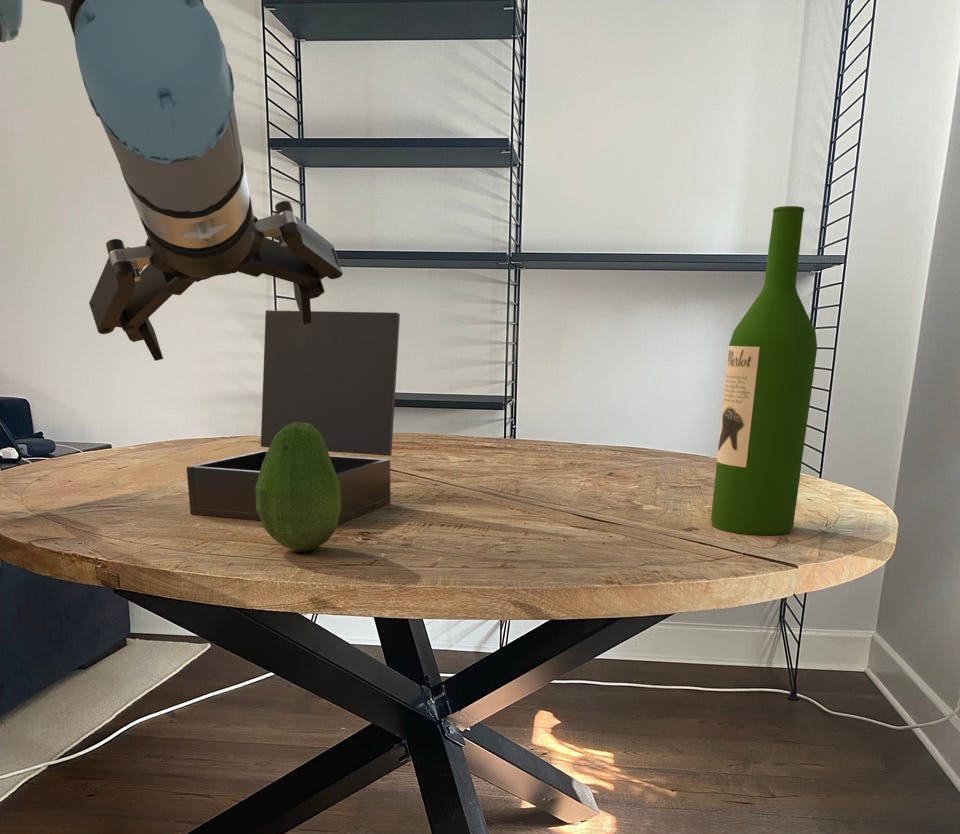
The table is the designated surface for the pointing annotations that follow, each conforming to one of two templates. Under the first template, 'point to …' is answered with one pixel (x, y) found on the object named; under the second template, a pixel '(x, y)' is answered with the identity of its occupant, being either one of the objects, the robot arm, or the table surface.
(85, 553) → the table surface
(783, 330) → the wine bottle
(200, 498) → the tin
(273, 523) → the avocado
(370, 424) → the tin lid
